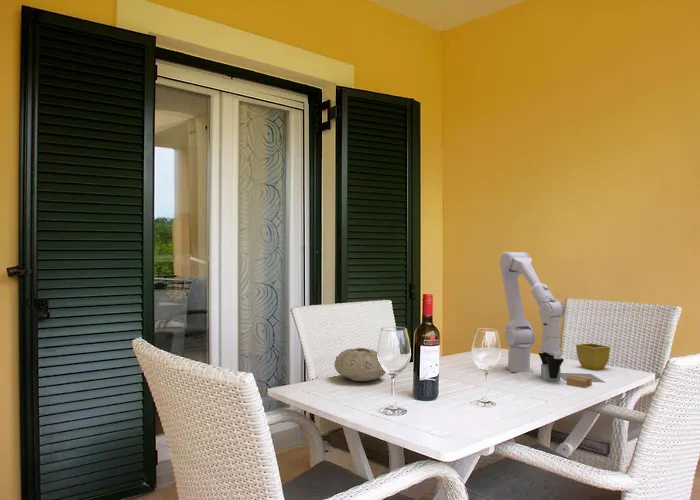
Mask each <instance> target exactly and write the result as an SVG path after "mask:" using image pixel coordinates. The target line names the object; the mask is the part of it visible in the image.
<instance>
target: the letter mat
mask: <svg viewBox="0 0 700 500" xmlns="http://www.w3.org/2000/svg"><path fill="white" fill-rule="evenodd" d="M572 375H577V376H583V377H589V378H592V383H604V384H605V383H607V382H606V381H605V380H603V379H600V377H598V376H596V375H594V374H592V373H578V372H577V373H576V372H560V379H562V380H564V381H566V382H567V377H569V376H572Z"/></svg>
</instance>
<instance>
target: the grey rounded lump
mask: <svg viewBox="0 0 700 500" xmlns="http://www.w3.org/2000/svg"><path fill="white" fill-rule="evenodd" d="M377 352H378V351H376V350H374V349H369V348H365V347H356V348H348V349H345V350H343V351H341V352H340V353H339V354H338V355H337V356H336V357H335V359H334V360H335V361H334V364H333V365H334V367H333V368H334V369H335V371H336V372H337V373H338V374H339V375H340V376H341V377H344V378H348V379H349V380H352V381H355V382H367V381H373V380H378V379H379V378H382V377H383V376H385V374H386V373H387V371H386V372H385V371H384V370H383V368H382V367H381V365H380V363H379V361H378V358H377Z"/></svg>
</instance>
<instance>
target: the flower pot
mask: <svg viewBox="0 0 700 500" xmlns="http://www.w3.org/2000/svg"><path fill="white" fill-rule="evenodd" d="M575 348H576V355H577V359H578V362H579V364H580V365H581V367H582V368H583V369H588V370H591V371H596V370H597V371H598V370H604V368H605V367H606V366H607V364H608V362H609V359H610V358H609V357H610V351H611V346H608V345H602V344H597V343H592V342H591V343H589V342H588V343H580V344H575Z"/></svg>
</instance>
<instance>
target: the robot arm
mask: <svg viewBox="0 0 700 500" xmlns="http://www.w3.org/2000/svg"><path fill="white" fill-rule="evenodd" d="M532 264H533V259H532V258H531V256H530V254H529V253H528V252H527V251H522V252H520V251H519V252H518V251H517V252H516V251H513V252H512V251H504V252H503V253H502V254H501V256H500V258H499V266H500V272H501V278H502V284H503V290H504V296H505V300H506V306H507V312H508V317H509V322H508V323H507V324H506V325H505V326H504V330H505V333H504V340H505V342H506V344H507V346H508V347H509V348H508V351H507V354H508V355H507V356H508V357H507V365H505V368H506V369H507V370H508V371H509V372H511V373H534V371H533V370H532V369H530V368H531V348H532V345H533V344H534V343H535V341H536V334H535V332H534V330H533V327H532V324H531V323H530V322H529V321H528V320H527V319H526V317H525V313H524V308H523V302H522V297H521V291H520V284H519V280H518V279H519V277H520V276H521V275H522V276H523V278H525V280H526V282H527V283H528V285H530V287H531V289H530V292H531V294H532V296H533V298H534V299H535V301H536V303H537V305H538V307H539V308H538V313H539V316H540V320H541V324H542V329H541V330H542V334H541V339H542V340H541V341H542V342H541V343H542V344H541V348H540V347H539V348H538V355H539V357H540V358H539V359H540V361H541V364H548V368H549V376H550V378H557V376H558V372H559V369H560V370H561V366H562V364H563V363H564V360H565V359H564V358H563V357H561V355H562V354H561V318H562V317H563V316H564V315H565V306H564V304H563V302H561V301H559V300H558V299H557V298H555V297H554V295H553V293H552V292H551V290H550V288H549V286H548V285H546V283H541V281H540V278H539V277H538V275H537V273H536V270H535V269H534V267H533V266H532Z"/></svg>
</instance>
